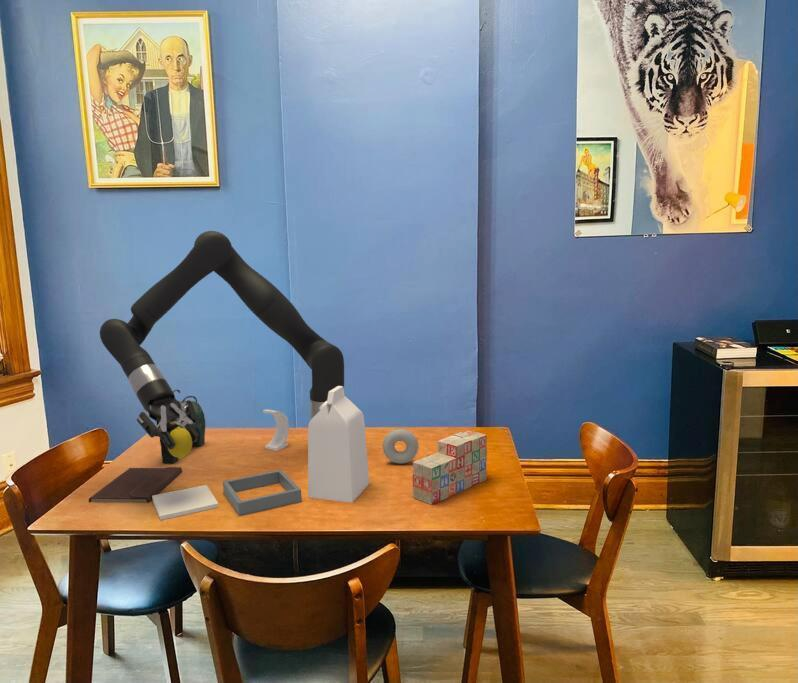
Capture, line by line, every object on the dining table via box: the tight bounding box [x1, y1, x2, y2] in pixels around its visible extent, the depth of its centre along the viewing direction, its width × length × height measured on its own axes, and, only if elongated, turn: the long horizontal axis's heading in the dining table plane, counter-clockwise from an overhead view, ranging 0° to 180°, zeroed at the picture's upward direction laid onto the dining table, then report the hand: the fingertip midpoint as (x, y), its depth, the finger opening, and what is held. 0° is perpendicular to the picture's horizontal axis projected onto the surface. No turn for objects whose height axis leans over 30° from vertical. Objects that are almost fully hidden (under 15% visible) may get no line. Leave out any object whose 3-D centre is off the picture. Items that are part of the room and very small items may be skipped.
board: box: [151, 484, 220, 521], centre depth 146 cm, size 13×13×1 cm
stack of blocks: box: [412, 430, 488, 505], centre depth 152 cm, size 21×6×12 cm, turn 135°
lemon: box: [168, 427, 193, 460], centre depth 144 cm, size 6×6×8 cm
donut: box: [382, 428, 419, 465], centre depth 169 cm, size 10×4×10 cm, turn 88°
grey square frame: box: [222, 469, 303, 517], centre depth 149 cm, size 15×15×3 cm
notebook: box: [88, 466, 183, 504], centre depth 157 cm, size 15×20×2 cm
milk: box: [307, 386, 370, 503], centre depth 151 cm, size 12×12×26 cm
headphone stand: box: [262, 409, 290, 452], centre depth 185 cm, size 5×6×12 cm
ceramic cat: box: [159, 389, 206, 465], centre depth 180 cm, size 20×6×20 cm, turn 166°
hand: (184, 443), depth 143 cm, fingers closed on lemon, 5 cm apart
